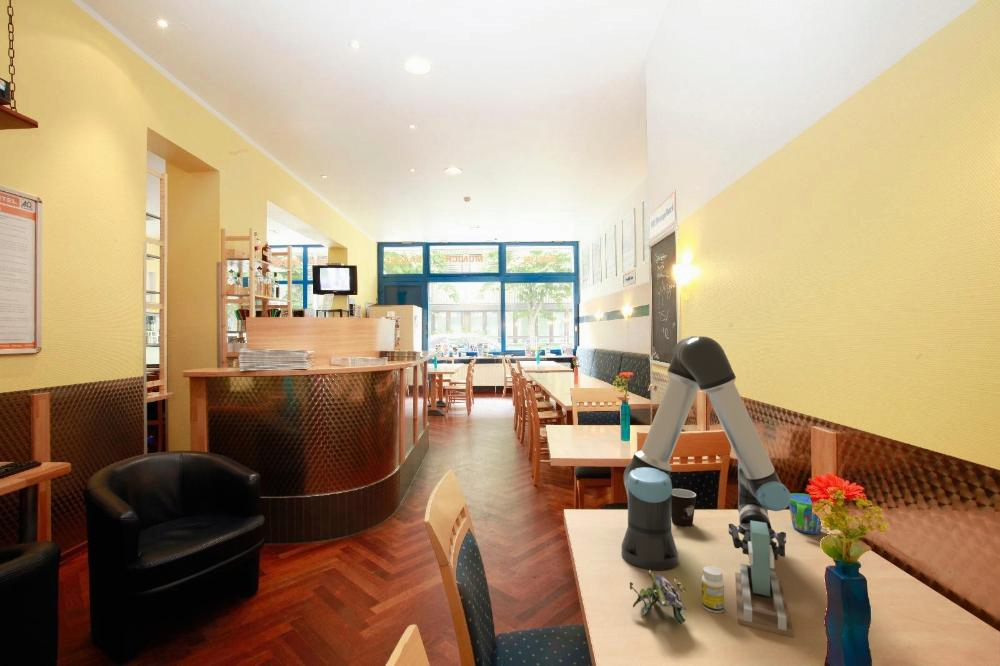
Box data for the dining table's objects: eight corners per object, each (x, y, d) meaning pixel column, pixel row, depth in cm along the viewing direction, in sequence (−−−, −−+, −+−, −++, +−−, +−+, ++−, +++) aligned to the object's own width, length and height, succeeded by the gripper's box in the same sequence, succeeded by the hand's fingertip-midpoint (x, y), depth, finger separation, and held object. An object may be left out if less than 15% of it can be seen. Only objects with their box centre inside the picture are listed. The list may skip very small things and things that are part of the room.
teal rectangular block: (750, 576, 113) (750, 520, 114) (767, 580, 112) (766, 522, 112) (752, 592, 106) (752, 532, 106) (770, 596, 105) (769, 535, 105)
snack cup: (816, 542, 137) (816, 508, 137) (778, 530, 146) (778, 498, 146) (834, 529, 147) (834, 498, 147) (797, 519, 155) (797, 489, 155)
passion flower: (677, 645, 98) (701, 619, 92) (629, 636, 98) (649, 610, 91) (665, 592, 108) (686, 565, 101) (621, 584, 107) (639, 556, 101)
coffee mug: (691, 518, 155) (691, 489, 155) (700, 529, 146) (700, 498, 146) (656, 517, 156) (656, 488, 156) (662, 527, 147) (662, 496, 148)
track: (735, 576, 117) (735, 562, 117) (780, 585, 113) (780, 571, 113) (738, 623, 97) (738, 607, 97) (793, 637, 93) (793, 620, 93)
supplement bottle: (703, 599, 107) (703, 563, 107) (726, 605, 104) (726, 568, 104) (699, 608, 103) (699, 571, 103) (722, 616, 100) (722, 577, 100)
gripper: (790, 543, 122) (804, 585, 101) (721, 531, 129) (721, 568, 108) (790, 514, 122) (804, 551, 101) (721, 505, 129) (721, 537, 108)
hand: (761, 560), depth 104 cm, fingers closed on teal rectangular block, 3 cm apart
